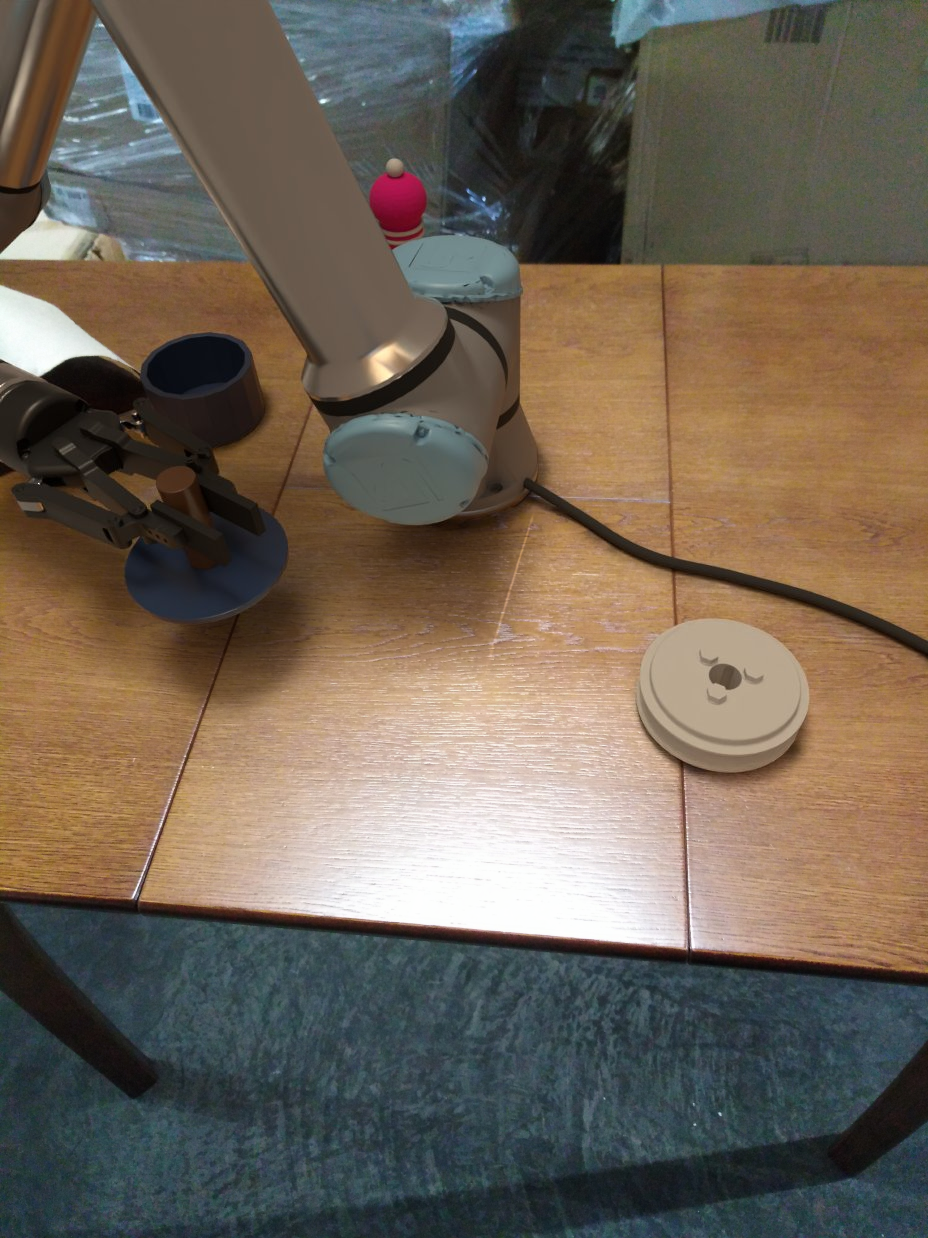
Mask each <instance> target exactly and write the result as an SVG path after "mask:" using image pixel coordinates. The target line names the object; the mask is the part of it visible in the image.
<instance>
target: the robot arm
mask: <svg viewBox="0 0 928 1238" xmlns="http://www.w3.org/2000/svg"><path fill="white" fill-rule="evenodd" d="M98 20H99V21H100V22H101V24H102V25H103V27H104V29H105V30H106V32H107V33H108V35H109V37H110V39H111V40H112V42H113V43H114V44H115V46H116V48H117V49H118V51H119V52H120V55H121V56H122V58H123V59H124V61H125V62H126V64H127V65H128V68H129V69H130V71H131V72H132V74H133V75H134V77H135V79H136V80H137V82H138V83H139V85H140V87H141V88H142V90H143V92H144V93H145V95H146V96H147V98H148V99H149V101H150V103H151V105H152V106H153V107H154V109H155V111H156V112H157V114H158V116H159V117H160V119H161V120H162V122H163V124H164V125H165V127H166V129H167V130H168V132H169V133H170V135H171V136H172V139H173V140H174V141H175V143H176V145H177V147H178V149H180V152H181V153H182V154H183V156H184V158H185V160H186V161H187V162H188V164H189V165H190V167H191V169H192V170H193V172H194V174H195V175H196V177H197V178H198V181H199V182H200V184H201V185H202V186H203V188H204V190H205V192H206V193H207V194H208V196H209V198H210V199H211V201H212V203H213V204H214V206H215V208H216V209H217V211H218V212H219V214H220V216H221V218H222V219H223V220H224V222H225V224H226V225H227V227H228V228H229V230H230V232H231V233H232V235H233V237H234V238H235V240H236V241H237V244H238V245H239V246H240V248H241V249H242V251H243V253H244V254H245V256H246V258H247V259H248V261H249V263H250V264H251V266H252V268H253V269H254V270H255V273H256V274H257V275H258V277H259V279H260V280H261V282H262V283H263V285H264V287H265V288H266V289H267V292H268V293H269V294H270V296H271V298H272V299H273V301H274V303H275V304H276V306H277V308H278V309H279V311H280V312H281V314H282V315H283V317H284V319H285V320H286V322H287V324H288V325H289V328H290V329H291V331H292V332H293V333H294V335H295V336H296V339H297V340H298V342H299V344H300V345H301V346H302V348H303V349H304V351H305V352H306V357H305V360H304V364H303V367H302V371H301V377H300V380H301V381H300V382H301V385H302V387H303V390H304V391H305V393H306V395H307V396H308V397H309V399H310V401H311V403H312V405H314V407H315V409H316V410H317V412H318V413H319V415H320V417H321V418H322V420H323V421H324V423H325V424H326V426H327V428H328V431H329V434H328V436H327V437H326V438H325V441H324V445H323V449H322V454H323V455H322V469H323V473H324V475H325V478H326V480H327V482H328V484H329V485H330V487H331V488H332V490H333V491H334V492H335V493H336V495H338V497H340V499H341V500H343V501H344V502H346V504H348V505H349V506H350V507H352V508H354V509H355V510H357V511H359V512H361V513H363V514H365V515H367V516H369V517H372V518H377V519H380V520H384V521H386V522H387V523H391V524H396V525H397V524H398V525H406V526H423V525H424V526H425V525H432V524H436V523H439V522H443V521H446V520H453V521H454V520H455V521H462V520H474V519H481V518H484V517H488V516H491V515H494V514H498V513H500V512H502V511H505V510H507V509H509V508H514V507H515V506H517V505H518V504H519V503H520V502H522V501H523V500H524V499H525V498H526V497H527V496H528V494H530V492H531V493H533V494H535V495H536V496H538V497H539V498H541V499H542V500H545V501H546V502H547V503H549V504H551V505H552V506H554V507H556V508H557V509H559V510H560V511H561V512H563V513H565V514H567V515H568V516H570V517H572V518H573V519H575V520H576V521H578V522H580V523H581V524H583V525H584V526H586V527H587V528H589V529H590V530H592V531H593V532H595V533H596V534H598V535H599V536H601V537H602V538H603V539H605V540H607V541H608V542H609V543H612V544H613V545H615V546H616V547H618V548H620V549H622V550H624V551H626V552H628V553H630V554H632V555H634V556H636V557H638V558H641V559H643V560H645V561H649V562H651V563H654V564H657V565H660V566H664V567H667V568H670V569H675V570H679V571H683V572H688V573H692V574H698V575H702V576H707V577H712V578H716V579H721V580H726V581H728V582H733V583H736V584H740V585H743V586H747V587H750V588H751V587H752V588H755V589H759V590H763V591H766V592H770V593H775V594H778V595H782V596H786V597H789V598H792V599H796V600H798V601H803V602H804V603H805V602H806V603H809V604H811V605H814V606H817V607H819V608H822V609H826V610H829V611H831V612H833V613H837V614H839V615H842V616H844V617H847V618H850V619H851V620H855V621H857V622H860V623H862V624H864V625H867V626H868V627H871V628H873V629H876V630H878V631H880V632H882V633H884V634H886V635H889V636H890V637H893V638H895V639H897V640H899V641H901V642H903V643H905V644H906V645H909V646H911V647H913V648H914V649H917V650H919V651H920V652H923V653H925V654H927V655H928V640H927V639H925V638H923V637H921V636H919V635H917V634H915V633H913V632H911V631H909V630H907V629H904V628H903V627H901V626H899V625H896V624H894V623H892V622H890V621H888V620H885V619H883V618H881V617H879V616H877V615H874V614H872V613H869V612H867V611H864V610H862V609H860V608H857V607H855V606H852V605H849V604H847V603H845V602H842V601H840V600H836V599H833V598H831V597H828V596H825V595H822V594H819V593H816V592H813V591H810V590H807V589H803V588H800V587H797V586H793V585H790V584H787V583H783V582H779V581H775V580H770V579H766V578H763V577H760V576H755V575H752V574H748V573H743V572H740V571H736V570H732V569H729V568H724V567H720V566H716V565H710V564H705V563H701V562H697V561H691V560H686V559H682V558H678V557H674V556H670V555H666V554H664V553H660V552H658V551H654V550H652V549H649V548H647V547H644V546H643V545H642V546H641V545H640V544H638V543H636V542H634V541H632V540H629V539H627V538H625V537H624V536H623V535H620V534H618V533H617V532H616V531H613V529H610V528H609V527H608V526H607V525H605V524H603V523H602V522H600V521H599V520H597V519H596V518H594V517H593V516H591V515H590V514H588V513H586V512H585V511H583V510H582V509H580V508H578V507H577V506H575V505H573V504H572V503H570V502H568V501H567V500H565V499H564V498H562V497H561V496H559V495H558V494H556V493H554V492H552V491H551V490H550V489H548V488H546V487H544V486H543V485H541V484H539V483H537V477H538V472H539V454H538V448H537V447H538V446H537V443H536V440H535V437H534V434H533V432H532V430H531V427H530V424H529V422H528V419H527V417H526V414H525V412H524V409H523V407H522V404H521V308H522V307H521V297H522V295H523V294H524V287H523V286H522V280H521V279H522V278H521V269H520V268H521V267H520V264H519V261H518V259H517V257H516V256H515V255H514V254H513V252H511V251H510V249H508V248H507V247H505V246H504V245H501V244H498V243H496V242H495V241H493V240H490V239H487V238H483V237H477V236H471V235H459V234H443V235H432V236H426V237H422V238H421V239H417V240H413V241H409V242H407V243H404V244H402V245H400V246H398V247H396V248H394V249H393V250H392V249H391V247H390V245H389V243H388V241H387V239H386V237H385V235H384V233H383V231H382V229H381V227H380V225H379V223H378V220H377V219H376V217H375V215H374V213H373V211H372V209H371V207H370V202H369V201H368V199H367V197H366V195H365V193H364V191H363V189H362V187H361V185H360V182H359V180H358V178H357V176H356V174H355V173H354V171H353V169H352V167H351V165H350V162H349V161H348V159H347V157H346V154H345V152H344V150H343V148H342V146H341V144H340V142H339V141H338V138H337V136H336V134H335V132H334V130H333V128H332V126H331V124H330V122H329V120H328V118H327V116H326V114H325V111H324V110H323V108H322V106H321V104H320V102H319V100H318V97H317V95H316V94H315V91H314V90H313V87H312V86H311V84H310V82H309V80H308V78H307V75H306V73H305V72H304V70H303V67H302V65H301V63H300V62H299V60H298V57H297V56H296V53H295V51H294V49H293V47H292V46H291V43H290V41H289V39H288V38H287V34H286V33H285V31H284V29H283V27H282V25H281V23H280V20H279V19H278V17H277V15H276V13H275V11H274V9H273V7H272V5H271V3H270V1H269V0H0V255H1V254H2V253H3V252H5V250H6V249H7V248H8V247H9V246H10V245H11V244H12V243H13V242H15V240H17V238H18V237H19V236H20V235H21V234H22V233H23V232H25V231H27V230H28V229H30V228H31V227H32V226H33V225H34V224H35V223H36V221H37V219H38V217H39V215H40V214H41V212H42V211H43V209H44V208H45V207H46V206H47V204H48V202H49V200H50V197H51V192H52V186H51V182H50V178H49V172H48V169H47V166H48V162H49V160H50V157H51V154H52V151H53V148H54V145H55V142H56V140H57V137H58V134H59V131H60V129H61V125H62V123H63V120H64V118H65V117H64V116H65V114H66V112H67V109H68V106H69V103H70V100H71V97H72V95H73V91H74V89H75V85H76V84H77V80H78V77H79V74H80V72H81V69H82V66H83V63H84V60H85V57H86V55H87V52H88V49H89V47H90V44H91V41H92V37H93V34H94V32H95V29H96V26H97V23H98ZM132 405H133V408H134V409H131V410H129V411H126V412H124V413H121V414H117V413H116V412H114V411H112V410H101V409H96V408H94V406H92V405H91V404H90V403H88V402H87V401H86V400H84V399H83V398H81V397H79V396H78V395H76V394H73V393H72V392H71V391H70V392H69V391H67V390H66V389H64V388H61V387H59V386H57V385H55V384H53V383H50V382H48V381H47V380H46V379H44V378H43V377H40V376H38V375H36V374H33V373H31V372H29V371H27V370H25V369H22V368H20V367H18V366H17V365H13V364H12V363H9V361H5V360H3V359H2V358H0V462H1V463H2V464H4V465H6V466H7V467H9V468H10V469H12V470H14V471H16V472H17V473H19V474H21V475H23V476H25V477H27V478H28V480H27V482H19V483H16V484H15V485H13V486H11V489H10V492H11V495H13V497H14V499H15V501H16V503H17V504H18V506H19V507H20V509H21V510H22V512H23V514H24V516H25V517H27V518H30V519H38V520H39V519H40V520H51V521H53V522H54V523H57V524H59V525H62V526H64V527H66V528H69V529H70V530H71V529H72V530H73V531H76V532H78V533H81V534H83V535H85V536H87V537H89V538H93V539H95V540H97V541H99V542H101V543H104V544H106V545H108V546H111V547H112V548H115V549H118V550H121V551H123V550H126V549H129V548H130V547H131V546H132V545H133V540H135V539H139V538H140V537H141V536H142V538H143V540H144V542H145V544H147V545H153V544H156V543H157V542H159V543H161V544H163V545H165V546H167V547H168V548H170V549H172V550H178V551H179V550H180V549H181V548H183V547H184V546H187V547H189V548H191V549H193V550H195V551H196V552H198V553H200V554H202V555H204V556H206V557H207V558H209V559H211V560H213V561H215V562H217V563H218V564H220V565H222V566H224V567H226V566H227V565H228V564H229V563H230V562H232V561H233V560H232V558H231V555H230V552H229V550H228V547H227V544H226V541H225V539H224V536H223V534H222V533H220V532H218V531H217V530H215V529H213V528H211V527H209V526H207V525H205V524H203V523H201V522H199V521H198V520H196V519H194V518H192V517H190V516H188V515H186V514H184V513H182V512H181V511H179V510H177V509H175V508H173V507H171V506H169V505H167V504H165V503H163V501H162V500H160V499H158V498H157V499H156V500H154V501H153V502H152V503H151V504H149V508H150V509H149V508H148V506H147V504H146V503H145V502H144V501H143V500H141V499H140V498H138V497H137V496H136V495H135V494H134V493H132V492H131V491H130V490H128V489H127V488H126V487H124V486H123V485H121V483H120V482H118V481H117V480H115V479H114V478H113V477H111V476H110V475H111V474H112V473H114V472H118V473H120V474H121V473H122V474H124V475H126V476H130V477H131V476H133V475H134V474H137V475H139V476H142V477H145V478H148V479H151V480H154V481H156V479H157V477H158V476H159V475H160V474H161V473H162V472H163V471H165V470H166V469H169V468H171V467H176V466H185V467H189V468H191V469H192V470H193V471H194V472H195V475H196V477H197V480H198V483H199V485H200V488H201V491H202V493H203V496H204V499H205V501H206V504H207V507H208V509H209V511H210V512H212V513H214V514H216V515H218V516H220V517H222V518H224V519H226V520H227V521H229V522H231V523H233V524H235V525H237V526H239V527H241V528H243V529H245V530H247V531H249V532H251V533H253V534H255V535H256V536H258V537H259V536H261V535H262V534H263V533H264V532H265V531H266V529H265V526H264V522H263V519H262V516H261V513H260V510H259V508H260V506H259V504H258V503H257V502H256V501H254V500H252V499H250V498H248V497H245V496H243V495H241V494H239V493H238V492H237V487H236V485H235V484H234V482H233V481H232V480H230V479H228V478H225V477H223V476H221V475H220V469H219V466H218V463H217V459H216V456H215V454H214V451H213V448H211V446H210V445H209V444H208V443H206V442H204V441H203V440H201V439H200V438H198V437H196V436H195V435H193V434H191V433H190V432H188V431H187V430H185V429H183V428H182V427H180V426H178V425H177V424H175V423H174V422H172V421H170V420H169V419H167V418H165V417H164V416H162V415H161V414H159V413H157V412H156V411H154V410H153V408H152V406H151V404H150V402H149V400H148V398H147V397H144V396H143V397H137V398H136V399H134V400H133V402H132ZM126 431H131V432H134V433H135V434H138V435H139V436H140V439H141V438H142V439H146V438H148V440H149V441H150V442H151V443H152V444H153V445H152V444H149V443H146V442H143V441H141V440H137V439H134V438H132V437H131V435H130V434H129V433H127V432H126ZM71 489H73V490H74V489H78V490H80V491H82V492H83V493H84V494H85V495H86V496H88V497H89V498H90V499H92V500H93V501H94V502H99V503H100V504H101V505H102V506H104V507H105V508H104V507H102V506H99V505H97V504H94V503H92V502H90V501H87V500H85V499H83V498H80V497H77V496H75V495H73V494H71V493H68V492H65V491H63V490H71Z"/></svg>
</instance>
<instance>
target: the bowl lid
mask: <svg viewBox="0 0 928 1238" xmlns="http://www.w3.org/2000/svg"><path fill="white" fill-rule="evenodd" d="M155 486H156V489H157V492H158V494H159V496H160V498H161V501H162V502H163V503H165V504H167V505H169V506H171V507H173V508H175V509H177V510H179V511H181V512H182V513H184V514H186V515H188V516H190V517H192V518H194V519H196V520H198V521H199V522H201V523H203V524H205V525H207V526H209V527H211V528H213V529H215V530H217V531H218V532H220V533H222V534H223V536H224V539H225V541H226V544H227V547H228V550H229V552H230V555H231V558H232V560H233V561H232V562H230V563H229V564H228V565H227V566H226V567H224V566H222V565H220V564H218V563H217V562H215V561H213V560H211V559H209V558H207V557H206V556H204V555H202V554H200V553H198V552H196V551H195V550H193V549H191V548H189V547H187V546H184V547H183V548H181V549H180V550H179V551H178V550H172V549H170V548H168V547H167V546H165V545H163V544H161V543H159V542H157V543H156V544H153V545H147V544H145V542H144V540H143V538H142V536H141V537H138V538H137V540H136V541H135V543H134V544H133V546H132V548H131V549H130V551H129V553H128V556H127V558H126V559H125V560H126V561H125V564H124V565H125V566H124V573H123V574H124V584H125V586H126V589H127V592H128V594H129V596H130V597H131V599H132V601H133V602H134V604H135V605H137V607H138V608H139V609H140V610H141V611H143V612H144V613H146V614H148V615H149V616H150V617H153V618H155V619H157V620H160V621H162V622H166V623H170V624H176V625H203V624H205V625H206V624H209V623H216V622H218V621H224V620H225V619H229V618H231V617H234V616H236V615H238V614H241V613H243V612H244V611H247V610H248V609H250V608H252V607H253V606H255V605H257V604H258V603H259V602H260V601H262V600H263V599H264V598H266V597H267V595H269V594H270V592H272V590H274V588H275V587H276V586H277V585H278V583H279V582H280V580H281V578H282V577H283V575H284V574H285V571H286V569H287V567H288V562H289V557H290V547H289V540H288V537H287V533H286V531H285V530H284V527H283V526H282V524H281V522H280V521H279V520H278V519H277V518H276V517H275V516H274V515H273V514H272V513H270V512H269V511H268V510H266V509H264V508H261V507H259V510H260V513H261V516H262V519H263V522H264V526H265V529H266V531H265V532H264V533H263V534H262V535H261V536H259V537H258V536H256V535H255V534H253V533H251V532H249V531H247V530H245V529H243V528H241V527H239V526H237V525H235V524H233V523H231V522H229V521H227V520H226V519H224V518H222V517H220V516H218V515H216V514H214V513H212V512H210V511H209V509H208V507H207V504H206V501H205V499H204V496H203V493H202V491H201V488H200V485H199V483H198V480H197V477H196V475H195V472H194V471H193V470H192V469H191V468H189V467H185V466H176V467H171V468H169V469H166V470H165V471H163V472H162V473H161V474H160V475H159V476H158V477H157V479H156V480H155Z"/></svg>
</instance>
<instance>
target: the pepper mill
mask: <svg viewBox="0 0 928 1238" xmlns="http://www.w3.org/2000/svg"><path fill="white" fill-rule="evenodd" d="M385 170H386V173H383V174H382V175H380V176H378V177H377V178H376V179H375V180H374V182H373V183H372V186H371V187H370V191H369V198H368V200H369V201H368V203H369V205H370V207H371V209H372V211H373V213H374V215H375V217H376V219H377V221H378V223H379V225H380V227H381V229H382V231H383V233H384V235H385V237H386V239H387V241H388V243H389V245H390V247H391V249H392V250H393V249H394V248H396V247H398V246H400V245H402V244H404V243H407V242H409V241H413V240H417V239H421V238H424V235H425V233H426V230H425V227H424V226H425V220H424V218H423V215H424V214H425V212H426V209H427V204H428V197H427V196H428V195H427V193H426V189H425V186H424V184H423V183H422V181H421V180H420V178H418V176H416V175H414V174H413V173H411V172H407V171H404V164H403V162H402V161H401V160H400V159H398V158H391V159H389V160H388V161H387V163H386V164H385Z"/></svg>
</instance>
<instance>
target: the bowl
mask: <svg viewBox="0 0 928 1238" xmlns="http://www.w3.org/2000/svg"><path fill="white" fill-rule="evenodd" d="M254 360H255V359H254V357H253V353H252V351H251V349H250V348H249V347H248V344H246V343H245V341H244V340H242V339H240V338H238V337H236V336H234V335H231V334H228V333H221V332H212V331H207V332H206V331H205V332H198V333H188V334H186V335H183V336H179V337H177V338H174V339H170V340H168V341H166V342H165V343H163V344H161V345H160V346H158V347H157V348H155V349H154V350H152V351H151V352H150V354H149V355H148V356H147V357H146V358H145V360H144V361H143V362H142V364H141V366H140V367H141V368H140V372H139V374H140V375H139V380H140V382H141V385H142V387H143V390H144V393H145V395H146V398H147V399H148V401H149V402H150V404H151V406H152V408H153V410H154V411H156V412H157V413H159V414H161V415H162V416H164V417H165V418H167V419H169V420H170V421H172V422H174V423H175V424H177V425H178V426H180V427H182V428H183V429H185V430H187V431H188V432H190V433H191V434H193V435H195V436H196V437H198V438H200V439H201V440H203V441H204V442H206V443H208V444H209V445H210V446H211V448H212V449H214V448H215V449H216V448H219V447H222V446H223V447H224V446H227V445H229V444H232V443H235V442H237V441H239V440H241V439H243V438H244V437H246V436H247V435H249V434H250V433H252V432H253V431H254V430H255V429H256V428H257V427H258V425H259V424H260V423H261V422H262V419H263V418H264V414H265V409H266V407H265V400H264V399H265V398H264V394H263V391H262V390H263V389H262V386H261V383H260V379H259V376H258V375H259V374H258V371H257V368H256V365H255V361H254Z"/></svg>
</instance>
